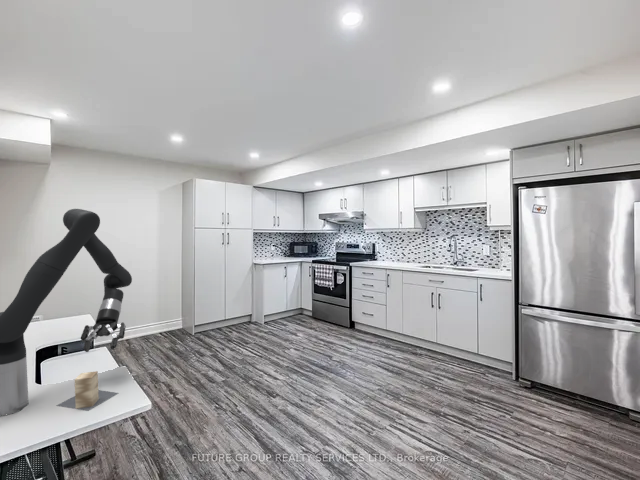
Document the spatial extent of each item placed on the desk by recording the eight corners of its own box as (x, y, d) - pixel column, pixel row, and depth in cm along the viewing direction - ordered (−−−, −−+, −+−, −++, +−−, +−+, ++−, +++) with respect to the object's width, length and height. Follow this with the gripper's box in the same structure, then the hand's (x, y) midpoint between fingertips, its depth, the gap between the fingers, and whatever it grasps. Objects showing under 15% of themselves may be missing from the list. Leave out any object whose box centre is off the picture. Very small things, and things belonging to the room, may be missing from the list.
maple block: (75, 408, 109) (74, 379, 108) (82, 401, 114) (81, 373, 113) (92, 406, 110) (91, 377, 110) (98, 398, 115) (97, 371, 114)
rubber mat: (56, 407, 111) (56, 405, 111) (89, 390, 122) (89, 388, 122) (88, 412, 107) (88, 410, 107) (119, 394, 119) (119, 393, 119)
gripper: (86, 309, 129) (73, 347, 118) (126, 306, 132) (117, 343, 122) (92, 318, 134) (81, 356, 123) (130, 315, 138) (123, 352, 127)
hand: (99, 349), depth 122 cm, fingers open, 8 cm apart
